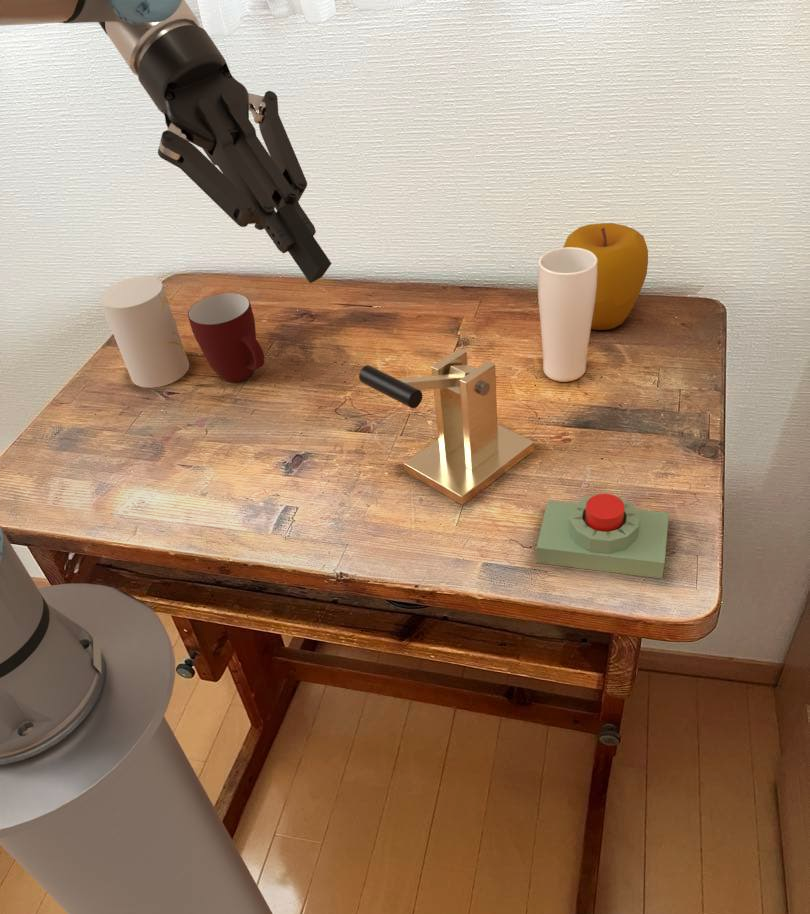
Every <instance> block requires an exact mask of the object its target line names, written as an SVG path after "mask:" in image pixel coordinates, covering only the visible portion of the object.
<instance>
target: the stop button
mask: <svg viewBox="0 0 810 914" xmlns="http://www.w3.org/2000/svg"><path fill="white" fill-rule="evenodd" d="M597 494H598V495H596V494H594V495H595V496H593V497H591V498H590V499H589V500H588V501H587V503H586V514H585V520H586V523H587V525H588V526H589V527H590V528H592V529H594V530H596V531H604V532H610V531H614V530H617V529H618V528H620V527H621V525H622V524H623V519H624V510H625V505H624V503H623V501H622V500H621V499H620V498H618V497H617V496H618V495H617V496H614V495H615V494H610V493H597Z"/></svg>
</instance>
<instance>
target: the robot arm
mask: <svg viewBox="0 0 810 914" xmlns="http://www.w3.org/2000/svg"><path fill="white" fill-rule="evenodd" d="M84 23H85V24H86V23H87V24H88V23H98V25H100V27H101V29H103V31H104V33H105V34H106V36H108V38H109V39H110V41H111V43H112V44H113V45H114V47H115V48H116V50H117V51H118V53H119V54H120V56H121V58H122V59H123V60H124V62H125V63H126V65H127V67H128V68H129V69H130V71H131V72H132V74H134V75H135V76H137V78H138V79H137V80H138V81H139V83H140V85H141V86H142V87H143V89H144V90H145V92H146V93H147V95H148V96H149V98H150V99H151V101H152V102H153V104H154V105H155V106H156V109H158V111H159V112H161V114H163V116H164V121H165V126H166V128H167V130H163V132H162V133H161V137H160V140H159V145H158V149H157V154H158V156H159V157H160V158H161V159H162V160H164V161H166V162H168V163H169V164H172V165H173V166H175V167H177V168H178V169H179V170H181V172H183V173H184V174H185V176H187V177H188V178H189V179H190V180H191V181H192V182H193V183H194V184H195V185H196V186H197V187H198V188H199V189H201V191H202V192H204V193H205V194H206V195H207V196H208V197H209V199H211V200H212V201H213V203H215V204H216V205H217V206H218V207H219V208H220V209H221V210H222V211H223V212H224V213H225V214H226V215H227V216H228V217H229V218H230V219H231V220H232V221H233V222H234V223H235V224H236V225H237V226H238V227H241V228H246V227H248V225H253V224H254V228H255V229H256V230H257V231H263V230H264V231H265V232H266V234H267V235H268V237H269V238H270V240H271V241H272V242H273V244H274V245H275V247H276V248H277V249H278V251H279V252H281V253H282V254H285V253H289V255H290V256H291V258H292V259H293V261H294V263H295V264H296V265H297V266H298V268H299V270H300V271H301V272H302V274H303V276H304V277H305V278H306V280H307V281H308V283H309V284H312V283H314V282H316V281H318V280H320V279H321V278H323V276H324V275H325V274H326V272H327V271H328V270H329V268H330V267H331V266H332V262H331V260H330V258H329V257H328V256H327V254H326V253H325V251H324V250H323V249H322V246H321V245H320V243H318V241H317V239H316V238H315V237H314V236H315V235H316V233H317V231H316V227H315V225H314V224H313V222H312V221H311V219H310V218H309V216H308V215H307V213H306V212H305V211H304V208H303V207H302V206H301V204H300V202H299V201H300V200H301V198H302V196H303V194H304V193H305V191H306V189H307V187H308V181H307V179H306V176H305V174H304V170H303V169H302V167H301V165H300V161H299V160H298V157H297V155H296V152H295V150H294V147H293V145H292V143H291V140H290V138H289V135H288V133H287V131H286V129H285V126H284V124H283V121H282V119H281V117H280V115H279V101H278V96H277V94H276V92H274V91H272V90H267V91H265V92H264V95H259V94H254V93H250V92H249V91H248V89H247V88H246V86H245V85H244V84H242V83H241V82H240V81H238V80H237V79H236V78H235V77H233V75H232V73H231V70H230V69H229V66H228V63H227V61H226V59H225V57H224V56H223V54H222V53H221V51H220V50H219V48H218V47H217V45H216V44H215V43H214V41H213V39H212V38H211V36H210V35H209V33H208V32H207V31H206V29H204V27H201V23H200V22H199V20H198V18H197V16H196V15H195V13H194V12H193V10H192V9H191V7H190V6H189V4H188V3H187V2H186V0H0V27H4V26H21V25H22V26H23V25H26V26H27V25H43V24H45V25H47V24H84ZM250 113H251V115H252V117H253V122H254V123H255V124H258V127H259V131H260V135H261V138H262V140H263V142H264V145H265V146H264V145H263V143H262V142H261V140H260V139H259V137H258V135H257V130H256V128H255V127H254V124H253V123H252V121H251V120H250ZM198 147H199V148H200V149H202V150H203V152H204V153H205V154H203V152H202V151H201V150H199V148H198ZM265 147H266V148H265ZM38 588H39V587H37V585H36V583H35V582H34V580H33V578H32V577H31V574H29V571H28V570H27V568H26V567H25V565H24V563H23V562H22V560H21V559H20V556H19V555H18V554H17V552H16V550H15V549H14V547H13V546H12V544H11V542H10V540H9V538H7V535H6V534H5V531H3V529H2V527H1V526H0V765H3V764H9V763H14V762H17V761H21V760H24V759H27V758H29V757H32V756H34V755H36V754H39V753H41V752H43V751H45V750H46V749H48V748H50V747H52V746H53V745H55V744H56V743H58V742H59V741H61V740H62V739H63V738H65V737H66V736H67V735H68V734H70V733H71V732H72V731H73V730H74V729H75V728H76V727H77V726H78V725H79V724H80V723H81V722H82V721H83V720H84V719H85V717H86V716H87V715H88V714H89V712H90V711H91V709H92V708H93V706H94V705H95V703H96V701H97V699H98V697H99V695H100V693H101V690H102V687H103V683H104V678H105V663H104V659H103V656H102V653H101V644H100V643H99V642H98V641H97V640H96V639H95V638H94V636H93V638H92V636H91V635H90V634H89V633H88V632H87V631H86V630H85V629H84V628H82V627H81V626H80V625H78V624H77V623H75V622H74V621H72V620H71V619H69V618H68V617H66V616H65V615H63V614H62V613H60V612H59V611H57V610H56V609H54V608H53V607H51V606H50V605H49V604H47V603H46V601H45V600H44V598H43V596H42V595H41V593H40V591H39V590H38Z"/></svg>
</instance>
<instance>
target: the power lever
mask: <svg viewBox="0 0 810 914" xmlns="http://www.w3.org/2000/svg"><path fill="white" fill-rule="evenodd" d="M476 368H477V367H474V366H471V365H470V364H468V365H457V366H450V371H449V375H437V376H432V375H427V376H415V377H401V378H395V377H394V376H391V375H390V374H388V373H386V372H384V371H381V370H379V369H378V368H375V367H373V366H371V365H369V364H367V365H364V366H363V367H362V368H361V369H360V371H359V374H358V380H359V382H360V383H362V384H364V385H366V386H368V387H370V388H372V389H373V390H375V391H378V392H379V393H382V394H383V395H385V396H387V397H389V398H391V399H393V400H395V401H397V402H399V403H401V404H402V405H405V406H407V407H408V408H411V409H416V408H417V407H419V406H420V405H421V403H422V400H423V393H422V391H428V390H434V389H440V388H447V389H449V390H451V391H453V392H455V393H457V394H460V395H461V393H460V379H462V378H463V377H465V376H466V375H468V374H469V373H471V372H472V371H474V370H475V369H476Z"/></svg>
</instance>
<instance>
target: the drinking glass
mask: <svg viewBox="0 0 810 914" xmlns="http://www.w3.org/2000/svg"><path fill="white" fill-rule="evenodd" d="M597 262H598V260H597V257H596V255H595V254H594V253H592V252H590V251H588V250H586V249H582V248H575V247H566V248H563V247H559V248H554V249H551V250H549V251H547V252H545V253H544V254H542V255H541V257H539V260H538V269H537V302H538V314H539V325H540V336H541V348H542V370H543V374H544V375H545V376H546V377H547V378H549V379H550V380H552V381H555V382H560V383H568V382H573V381H576V380H578V379H580V378H581V377H582V376H584V374H585V372H586V371H587V361H588V359H587V358H588V351H589V345H590V338H591V337H590V336H591V331H592V329H591V325H592V318H593V312H594V305H595V298H596V290H597Z"/></svg>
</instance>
